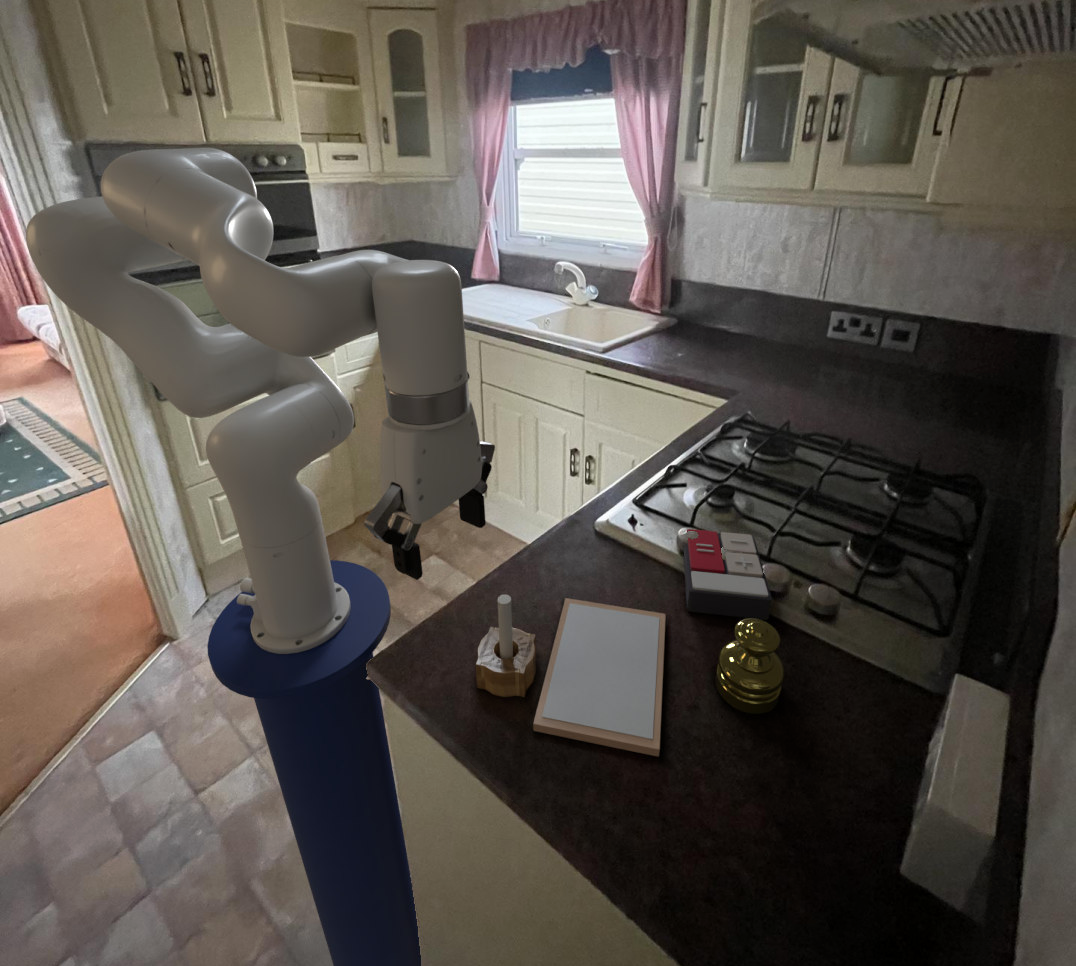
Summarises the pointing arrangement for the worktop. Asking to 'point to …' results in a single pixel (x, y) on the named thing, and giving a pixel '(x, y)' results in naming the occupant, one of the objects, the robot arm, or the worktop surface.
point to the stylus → (505, 627)
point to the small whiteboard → (605, 677)
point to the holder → (506, 664)
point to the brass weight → (751, 668)
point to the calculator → (725, 576)
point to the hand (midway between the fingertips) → (442, 546)
